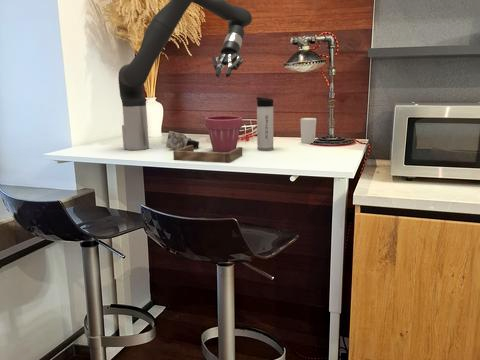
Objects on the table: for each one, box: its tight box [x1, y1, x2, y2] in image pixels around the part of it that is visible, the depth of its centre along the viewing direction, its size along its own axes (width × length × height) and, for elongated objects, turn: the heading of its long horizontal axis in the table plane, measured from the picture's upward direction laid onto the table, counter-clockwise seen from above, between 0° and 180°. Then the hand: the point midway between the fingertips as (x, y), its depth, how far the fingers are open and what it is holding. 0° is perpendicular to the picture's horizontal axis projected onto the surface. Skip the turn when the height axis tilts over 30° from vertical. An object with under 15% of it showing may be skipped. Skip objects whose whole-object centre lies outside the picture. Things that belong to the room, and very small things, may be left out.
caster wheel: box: [165, 130, 200, 151], centre depth 181 cm, size 7×11×10 cm
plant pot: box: [204, 115, 243, 153], centre depth 175 cm, size 14×14×13 cm
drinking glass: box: [300, 117, 317, 145], centre depth 189 cm, size 7×7×10 cm
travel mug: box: [255, 96, 274, 152], centre depth 174 cm, size 6×7×20 cm
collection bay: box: [172, 145, 243, 164], centre depth 162 cm, size 21×14×3 cm, turn 71°
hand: (222, 75), depth 186 cm, fingers open, 3 cm apart
